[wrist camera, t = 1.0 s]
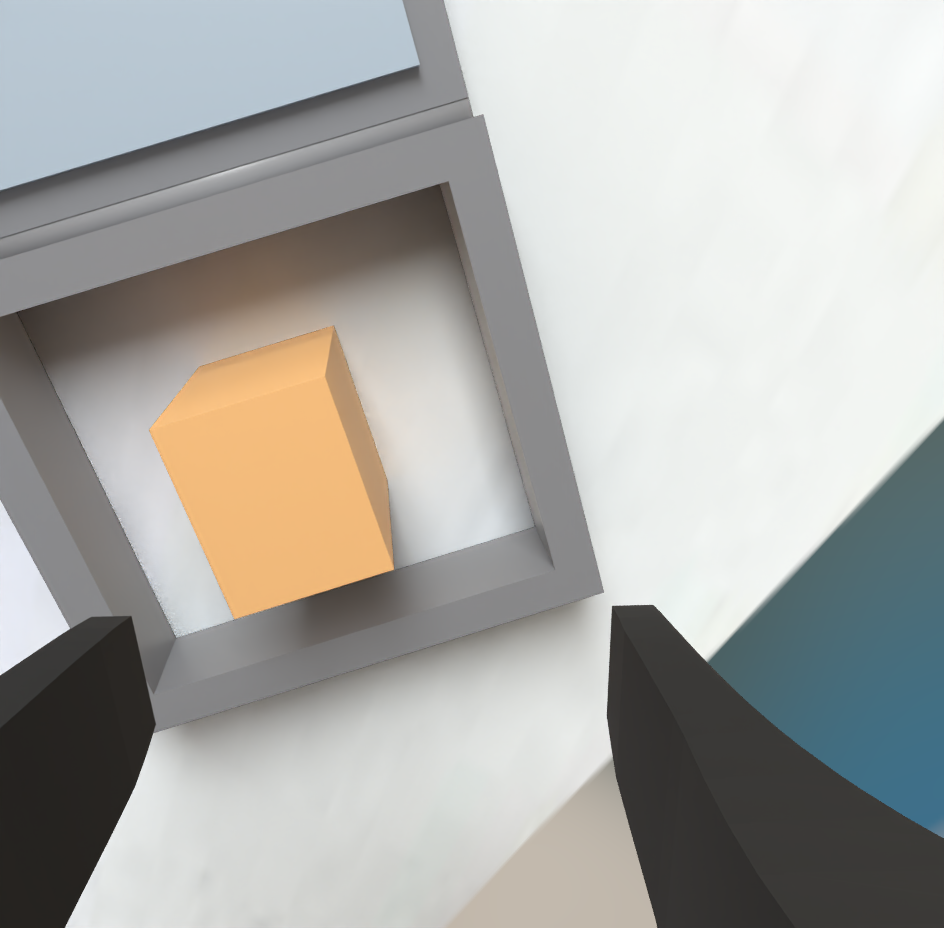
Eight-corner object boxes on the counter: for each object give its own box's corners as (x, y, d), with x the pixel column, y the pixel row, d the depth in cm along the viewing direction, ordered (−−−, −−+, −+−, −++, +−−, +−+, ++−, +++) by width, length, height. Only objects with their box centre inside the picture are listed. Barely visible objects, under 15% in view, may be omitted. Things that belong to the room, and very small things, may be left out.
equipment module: (262, 518, 26) (234, 619, 20) (199, 366, 24) (148, 430, 18) (387, 479, 26) (394, 569, 20) (333, 325, 24) (324, 376, 18)
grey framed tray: (155, 679, 27) (130, 740, 24) (-410, -425, 17) (-565, -542, 14) (579, 547, 27) (604, 592, 24) (276, -621, 17) (258, -775, 14)
